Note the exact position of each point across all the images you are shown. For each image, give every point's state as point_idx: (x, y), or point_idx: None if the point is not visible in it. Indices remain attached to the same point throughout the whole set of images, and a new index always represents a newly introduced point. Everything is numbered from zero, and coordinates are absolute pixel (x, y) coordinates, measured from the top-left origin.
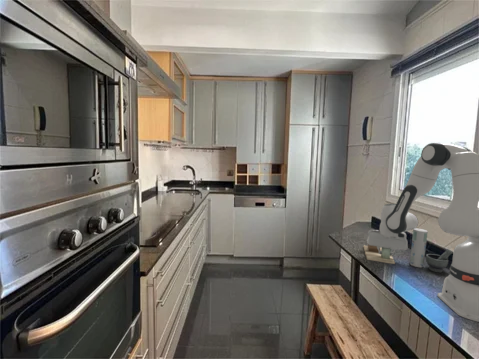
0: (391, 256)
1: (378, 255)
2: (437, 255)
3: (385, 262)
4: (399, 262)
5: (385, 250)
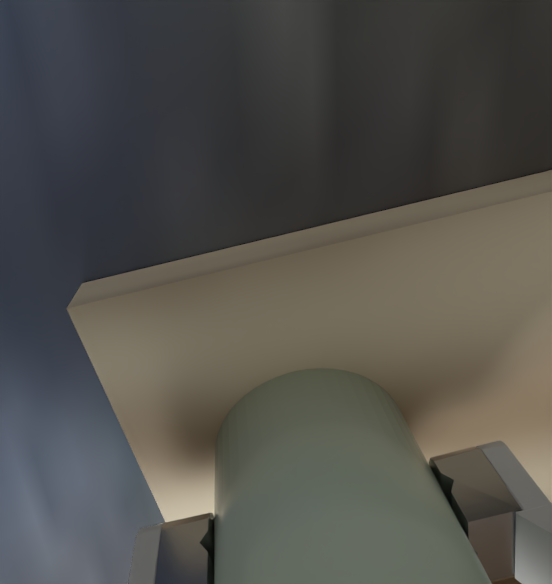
0: None
1: None
2: None
3: (288, 234)
4: (26, 450)
5: (399, 580)
